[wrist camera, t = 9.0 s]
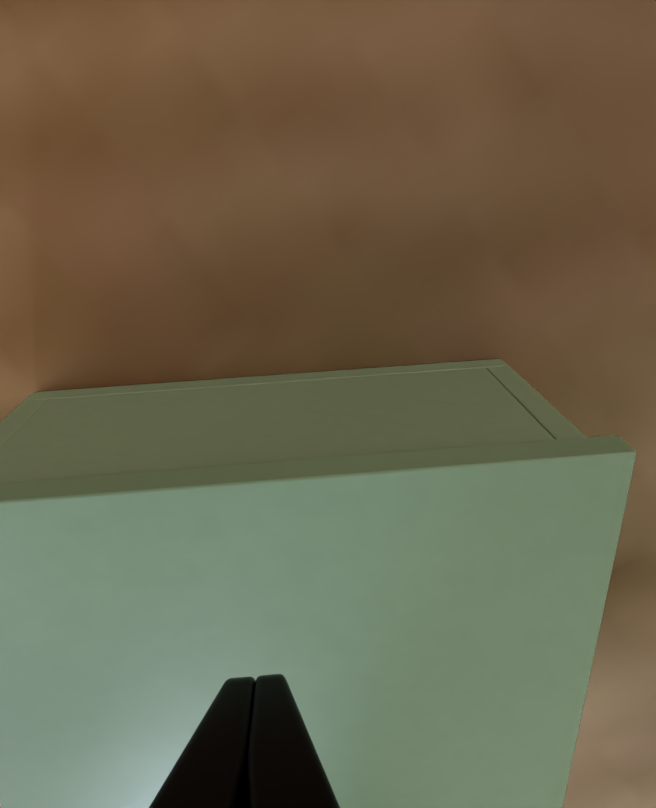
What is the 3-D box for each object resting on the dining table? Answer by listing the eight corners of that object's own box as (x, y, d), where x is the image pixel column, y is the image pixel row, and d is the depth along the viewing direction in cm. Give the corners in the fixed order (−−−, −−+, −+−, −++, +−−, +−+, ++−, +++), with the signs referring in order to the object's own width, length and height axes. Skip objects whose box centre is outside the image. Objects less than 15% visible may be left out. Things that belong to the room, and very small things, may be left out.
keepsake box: (33, 391, 17) (-81, 492, 12) (501, 357, 18) (591, 440, 12) (120, 719, 22) (67, 891, 17) (481, 687, 23) (539, 844, 17)
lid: (-122, 490, 11) (-147, 513, 10) (618, 433, 11) (638, 451, 11) (66, 893, 17) (58, 923, 16) (539, 845, 17) (549, 873, 17)
